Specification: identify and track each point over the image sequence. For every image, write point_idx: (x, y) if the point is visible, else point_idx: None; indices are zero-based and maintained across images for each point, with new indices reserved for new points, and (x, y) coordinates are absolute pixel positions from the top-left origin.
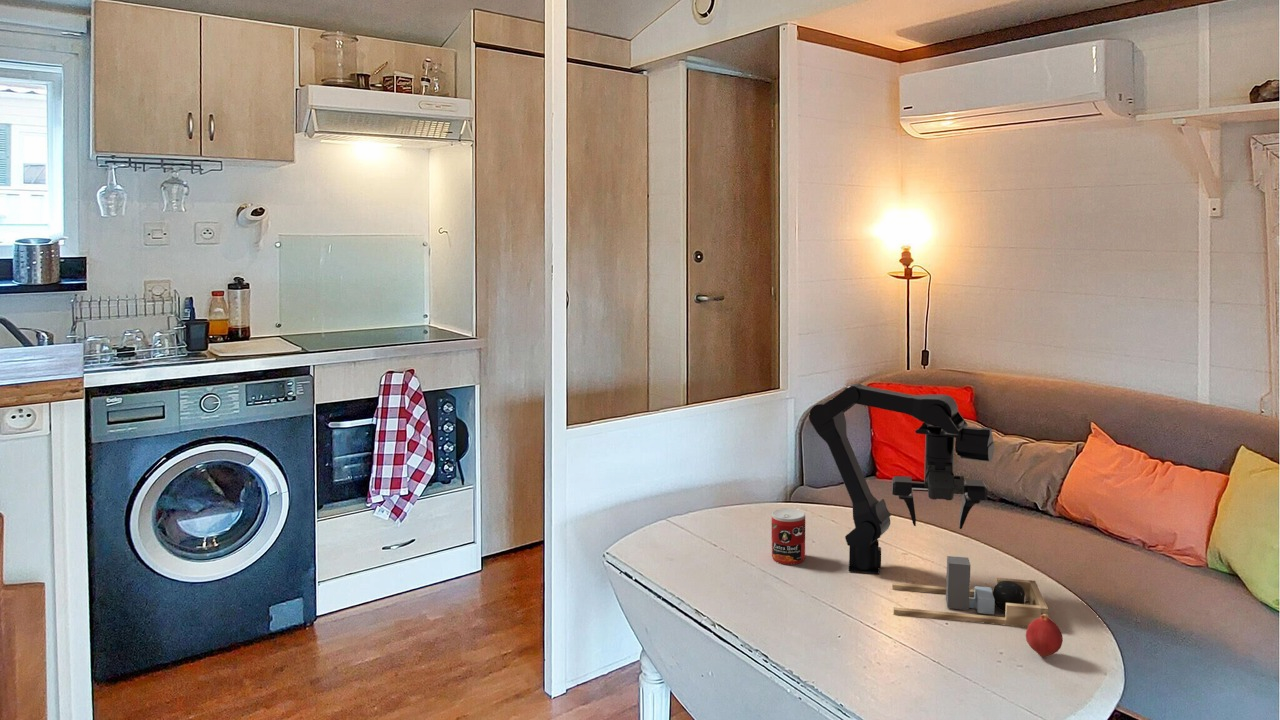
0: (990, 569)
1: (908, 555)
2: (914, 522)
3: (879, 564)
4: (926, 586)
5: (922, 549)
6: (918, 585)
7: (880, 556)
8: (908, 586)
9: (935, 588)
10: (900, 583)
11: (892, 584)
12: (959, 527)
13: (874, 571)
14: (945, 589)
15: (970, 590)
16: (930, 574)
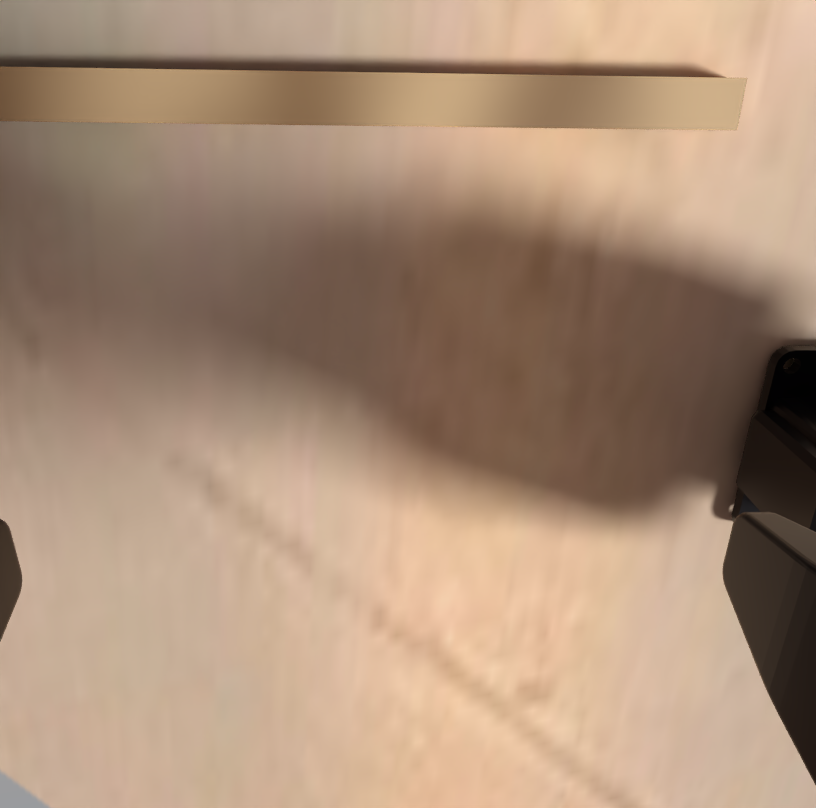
0: (24, 578)
1: (514, 674)
2: (797, 540)
3: (779, 422)
4: (467, 107)
5: (423, 761)
6: (531, 111)
7: (806, 456)
8: (616, 77)
9: (397, 76)
10: (672, 127)
11: (744, 90)
12: (7, 555)
13: (806, 360)
14: (316, 72)
15: (112, 94)
16: (406, 426)
